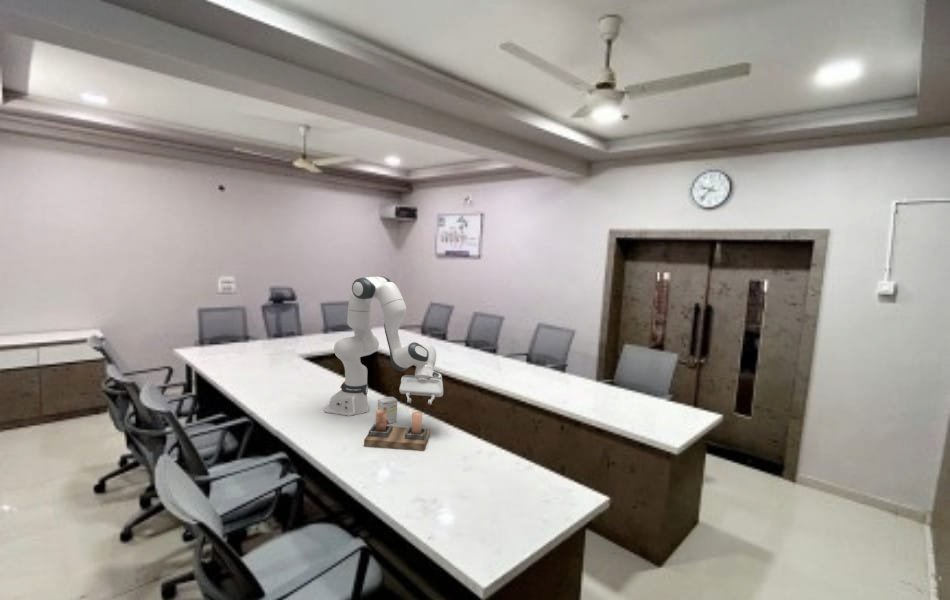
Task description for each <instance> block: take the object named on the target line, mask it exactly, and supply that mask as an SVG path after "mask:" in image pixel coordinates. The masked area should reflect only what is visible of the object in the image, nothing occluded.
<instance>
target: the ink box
mask: <svg viewBox="0 0 950 600" xmlns="http://www.w3.org/2000/svg"><path fill="white" fill-rule="evenodd" d="M380 409H383V410H386V411H387V415H386V425H391V424H395V423H397V422H398V421H397V417H398V399H397V398H396V397H394V396H387V397H380V398H378V400H377V410H380ZM377 410H376V411H377Z"/></svg>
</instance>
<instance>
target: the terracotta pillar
mask: <svg viewBox="0 0 950 600" xmlns="http://www.w3.org/2000/svg"><path fill="white" fill-rule="evenodd" d="M422 426H423V413H422V412H420V411H412V413H411V426H410V427H411V434H419V435H422V428H423V427H422Z"/></svg>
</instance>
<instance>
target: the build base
mask: <svg viewBox="0 0 950 600" xmlns="http://www.w3.org/2000/svg"><path fill="white" fill-rule="evenodd" d="M386 415H387V411H386V410H383V409H380V410H375V424H373V425H372V426H371V428H370V429H369V430H368V432H367V433H368V434H367V435H366V436H365V438H364V439H363V441H364V442H363V446H364V447H369V448H370V447H371V448H381V449H383V448H384V449H395V450H396V449H397V450H409V451H421V452H422V451H424V452H425V450H426V446H427V444H428V442H429V439H430V436H431V429H429V428H427V427H422V435H419V434H411V426H408V427H403V426H400V427H399V426H393V425H391V424H386Z"/></svg>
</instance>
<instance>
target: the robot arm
mask: <svg viewBox="0 0 950 600" xmlns="http://www.w3.org/2000/svg"><path fill="white" fill-rule="evenodd" d="M376 299H377V300H378V301H379V303H380V306H381V308H382V313H383V317H384V318H383V319H384V322H383V328H384V329H383V330H384V334H385V337H386V341H387V346H388V349H389V359H390V363H391V366H392V367H393V368H394V369H395V370H397V371H399V372H404V371H406V370H407V369H409V368H410V367H412V366H415V371H414V374H413V375H412V374H410V375H409V374H404V375H402V376H401V378H400V384H399V389H398V390H399V393H400V394H401V395H406V398H407V401H406V402H407V403H408V404H411V403H412V398H411V397H410V396H411V395H412V396H426V397H431V398H430V399H428V401H427V405H429V406H430V405H432V402H433V401H434V400H435V398H441V397H443V395H444V384H443V376H442V374H441V373H439V372H437V371H435V369H434V368H435V366H436V360H437V350H436V348H435V347H434V346H433V345H431V344H428V343H425V344H424V343H423V344H420V343H418V342H411V343H410V342H409V344H407V345H405V346H403V347H402V343H401V339H400V336H399V329H400V326H401V324H402V322H403V321H404V320H405V318H406V316H407V312H408V310H407V309H408V308H407V305H406V302H405V300H404V298H403V294H402V293H401V291H400V289H399V287H398V286H397V284H396V283H394V282H392V280H390V279H389V278H388V277H387V276H386V277H385V276H373V275H372V276H366V277H359V278H357V279H355V280H354V281H353V283H352V284H351V292H350V294H349V298H348V303H347V304H348V307H347V319H346V321H347V326H348V327H349V328H351V329H352V330H353V332H354V333H353V334H354V336H349V337H343V338H341V339H339V340H337V341H336V342H335V343H334V347H333V352H334V354H335V356H336V357H337V358H338V359H339V360H340V361H341V362H342V365H343V368H344V381H343V382H342V383H341V385H340V390H338V391H337V392H336V393H334V394H333V395H332V396H331V397H330V399H329V402H328V404H327V405H326V406H325V407H324V409H323V410H324V413H329V414H335V415H342V416H348V417H351V416H355V415H360V414H361V415H362V414H365V413H367V412H368V411H370V406H369V401H368V399H369V398H368V393H369V383H368V368H367V366H366V365H364V364H362V362H361V361H362V360H361V357H366V356H370V355H372V354H374V353H376V352H377V351H378V350H379V346H380V343H379V340H378V338H377V337H376V336H375V335H374V334H373V331H372V328H371V303H372V301H373V300H376Z"/></svg>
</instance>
